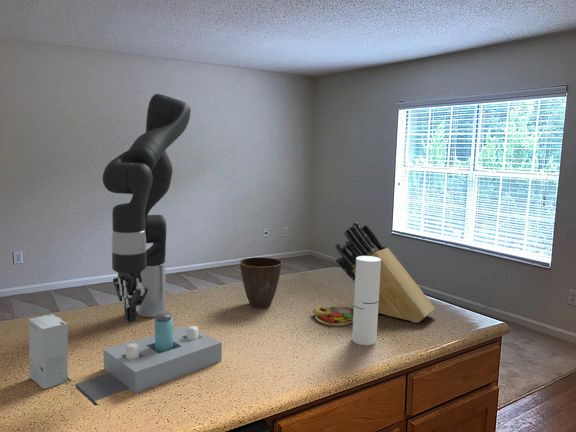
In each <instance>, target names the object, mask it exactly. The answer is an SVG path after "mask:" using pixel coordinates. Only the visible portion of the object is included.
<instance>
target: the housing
mask: <svg viewBox="0 0 576 432" xmlns="http://www.w3.org/2000/svg"><path fill="white" fill-rule="evenodd" d="M189 326H190V325H186V324H185V325H183V326H179V327H176V328H173V349H172V350H169V351H166V352H163V353H160V354H159V353H158V352H156V351H155V334H151V335H148V336H146V337H141V338H139V339H134V340H131V341H127V342H124V343H121V344H117V345H114V346H110V347H107V348H104V349H103V369H104V370H105V371H106V372H107V373H110V374H112V375H113V376H114V377H116V378H117V379H118V380H119V381H121V382H122V383H123V384H125V385H126V386H127V387H129V390H131V391H132V392H133V393H135V394H138V393H140V392H143V391H145V390H149V389H151V388H154V387H157V386H158V385H162V384H164V383H166V382H169V381H172V380H175V379H177V378H180V377H182V376H185V375H188V374H191V373H193V372H196V371H199V370H201V369H204V368H206V367H209V366H212V365H215V364H217V363H220V362H222V360H223V359H222V356H223V355H222V352H223V351H222V349H223V348H222V345H223V342H221V341H220V340H217V339H216V338H214V337H212V336H210V335H207V334H205V333H203V332H201V331H200V330H198V339H196V340H193V341H189V340H187V327H189ZM133 343H135V344H138V345H139V358H137V359H134V360H130V361H128V360H126V345H128V344H133Z"/></svg>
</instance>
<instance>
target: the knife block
mask: <svg viewBox="0 0 576 432" xmlns="http://www.w3.org/2000/svg"><path fill="white" fill-rule="evenodd" d="M343 233H344V236H345V237H346V239H347V240H346V241H345V244H344V245H343V246H342V245H341V243H336V244H335V245H334V246H335V249H336V250H337V252H338V253H339V254H340V256H341V257H339V258H336V259H335V261H336V262H335V263H336V264H337V265H339V267H341V269H342V270H343V271H344V272H345V273H346V275H347V276H348V277H349V278H350V279H351V280H352V281H353V282H355V272H356V257H359V256H373V257H378V258H380V259H381V269H380V286H379V304H378V314H382V315H385V316H389V317H392V318H393V317H394V318H398V319H401V320H405V321H409V322H411V323H419V322H421V321H423V320H424V319H425V318H426V317H427V316H429V315H431V314H432V313H434V311H436V308H435V306H434V305H433V304H432V302H431V301H430V300H429V299H428V297H427V296H426V294H425V293H424V292H423V290H422V289H421V288H420V287H419V285H418V284H417V283H416V282H415V280H414V279H413V278H412V276H411V275H410V274H409V273H408V271H407V270H406V268H405V267H404V266H403V265H402V263H401V262H400V261H399V259H398V258H397V257H396V256H395V254H393V252H392V251H391V250H390V248H389V247H385V246H383V245H382V244H381V243H380V241H379V239H378V237H377V236H376V234H375V233H374V232H373V231H372V229H371V228H370V227H369V226H368V225H367V224H366V225H364V226H362V227H361V226H360V225H359V222H357V221H354V222H353V223H352V226H348V227H347V229H344V231H343ZM354 292H355V288H354Z"/></svg>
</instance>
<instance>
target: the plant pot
mask: <svg viewBox="0 0 576 432" xmlns="http://www.w3.org/2000/svg"><path fill="white" fill-rule="evenodd" d="M282 264H283V262H282V260H280V259H278V258H273V257H262V256H261V257H259V256H257V257H249V258H248V257H247V258H243V259H241V260H240V261H239V266H240V274H241V279H242V284H243V288H244V292H245V295H246V298H247V301H248V303H249V306H250V307H252V308H255V309H266V308H269V307H271V305H272V303H273V301H274V297H275V294H276V292H277V288H278V284H279V280H280V278H281V277H280V276H281V270H282Z"/></svg>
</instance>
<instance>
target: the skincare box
mask: <svg viewBox="0 0 576 432" xmlns="http://www.w3.org/2000/svg"><path fill="white" fill-rule="evenodd" d="M68 331H69V330H68V323H67V322H66V321H64V320H63V319H62V318H60V317H58V316H56V315H55V314H52V313H51V314H47V315H42V316H37V317H32V318H29V319H28V346H29V347H28V352H29V353H28V355H29V356H28V362H29V363H28V367H29V368H28V369H29V370H28V372H29V379H31V380H32V381H34V383H36V384H37V385H38V386H39V387H40V388H41V389H42V390H46V389H49V388H52V387H54V386H58V385H61V384H64V383H67V382H68V381H69V380H68V378H69V377H68V372H69V371H68V369H69V368H68V361H69V360H68V355H69V354H68V344H69V343H68V341H69V340H68V337H69V336H68V333H69V332H68Z"/></svg>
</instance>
